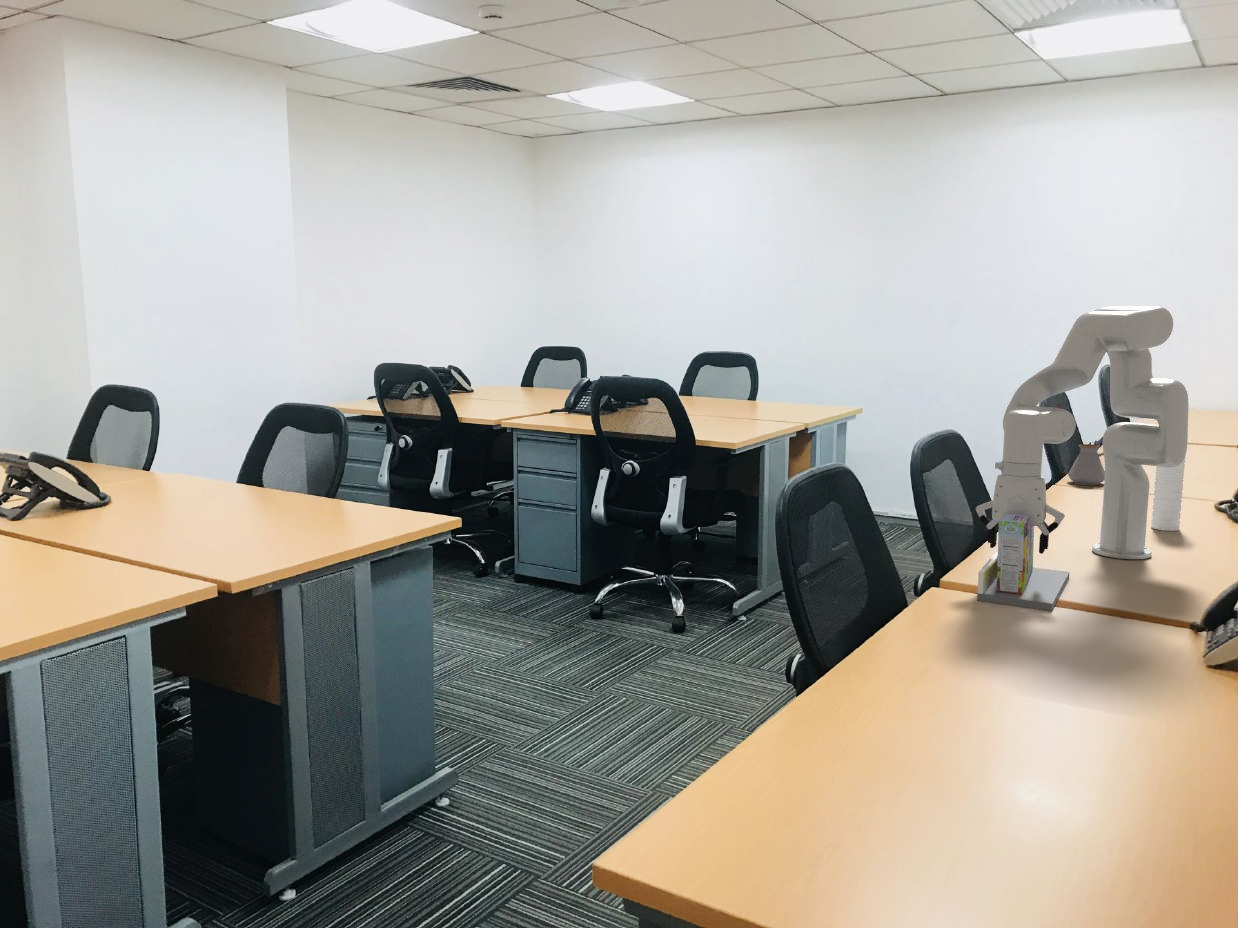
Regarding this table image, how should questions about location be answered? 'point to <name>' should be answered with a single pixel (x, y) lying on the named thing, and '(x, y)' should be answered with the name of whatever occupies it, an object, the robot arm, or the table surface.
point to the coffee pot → (1087, 466)
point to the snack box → (1014, 553)
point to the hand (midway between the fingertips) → (1017, 549)
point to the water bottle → (1168, 497)
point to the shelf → (1037, 591)
